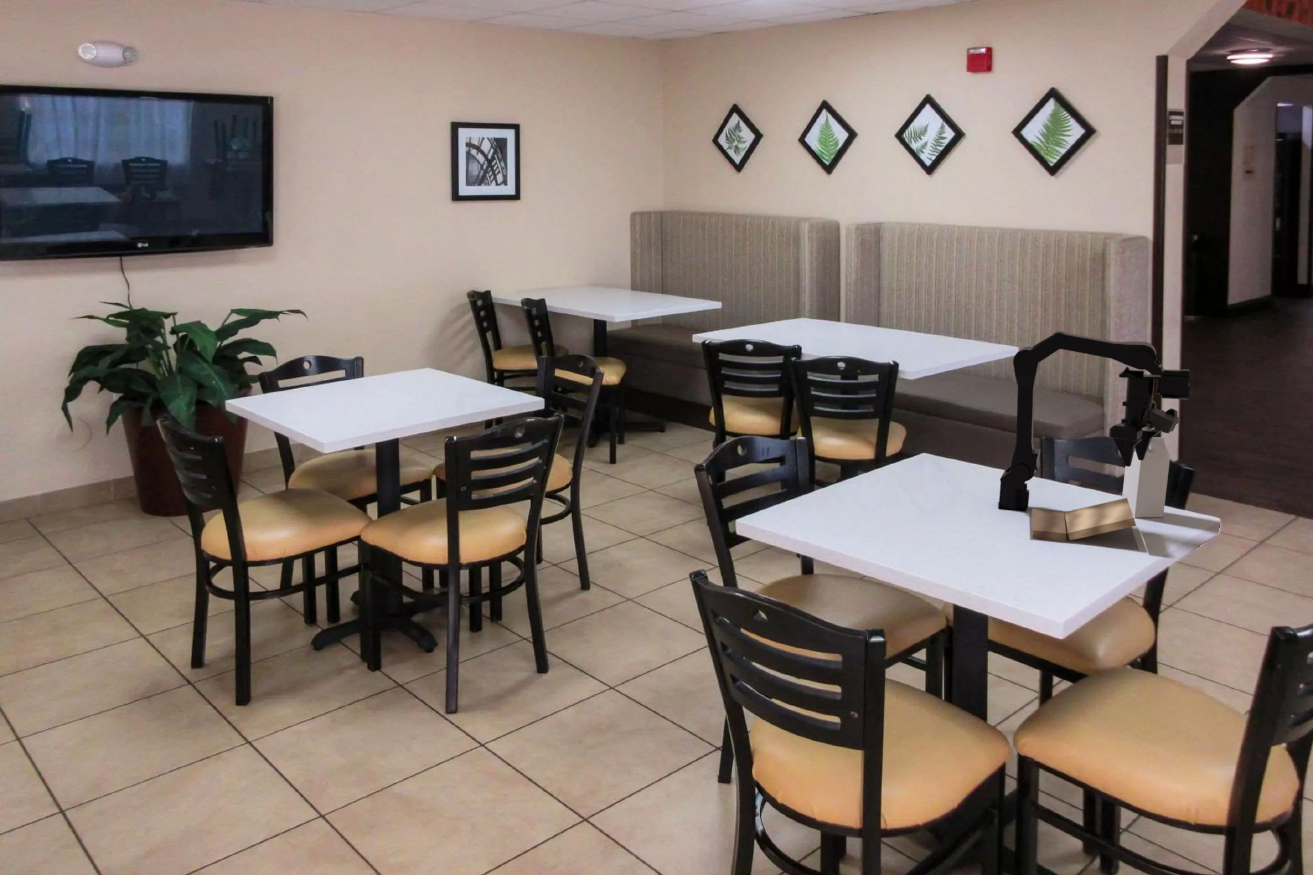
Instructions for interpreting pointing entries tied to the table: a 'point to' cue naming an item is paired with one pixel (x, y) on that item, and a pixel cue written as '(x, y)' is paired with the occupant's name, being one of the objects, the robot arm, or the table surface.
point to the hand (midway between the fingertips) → (1134, 463)
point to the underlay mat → (1101, 538)
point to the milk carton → (1148, 480)
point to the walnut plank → (1048, 525)
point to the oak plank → (1099, 519)
